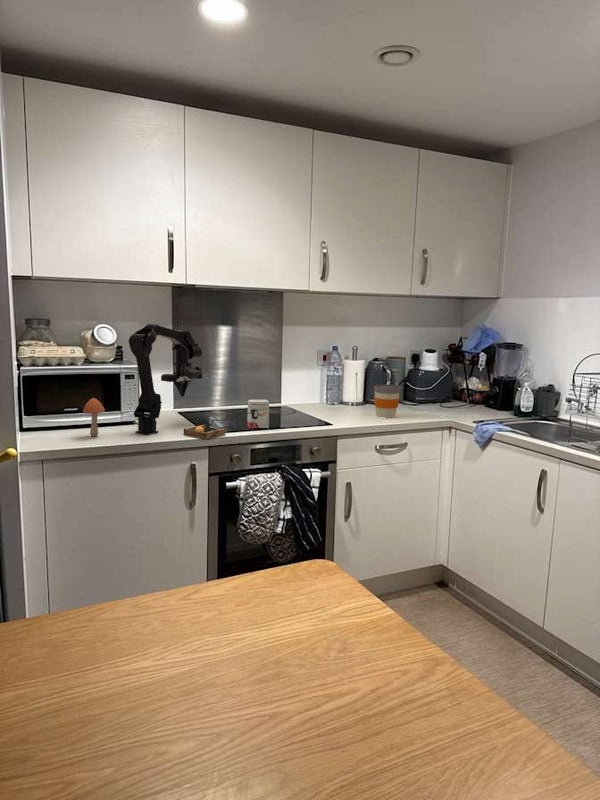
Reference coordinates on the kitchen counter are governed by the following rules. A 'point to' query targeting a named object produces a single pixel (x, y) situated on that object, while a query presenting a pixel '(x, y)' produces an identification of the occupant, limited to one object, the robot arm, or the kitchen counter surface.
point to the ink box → (258, 414)
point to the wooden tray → (203, 433)
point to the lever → (215, 423)
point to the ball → (199, 429)
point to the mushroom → (93, 414)
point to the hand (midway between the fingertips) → (182, 396)
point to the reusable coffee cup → (386, 400)
